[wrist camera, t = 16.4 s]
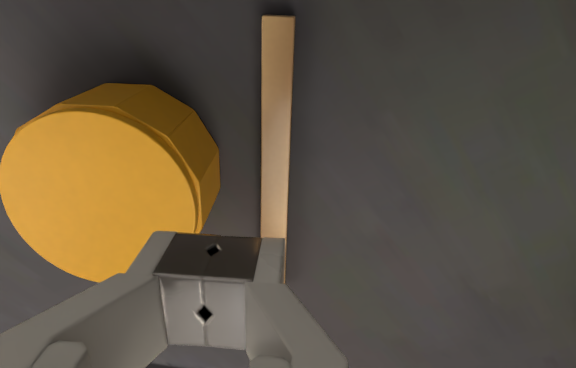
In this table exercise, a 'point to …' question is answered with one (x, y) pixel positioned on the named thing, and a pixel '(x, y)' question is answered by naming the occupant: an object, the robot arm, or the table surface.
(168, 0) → the table surface
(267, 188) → the strip
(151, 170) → the bowl
